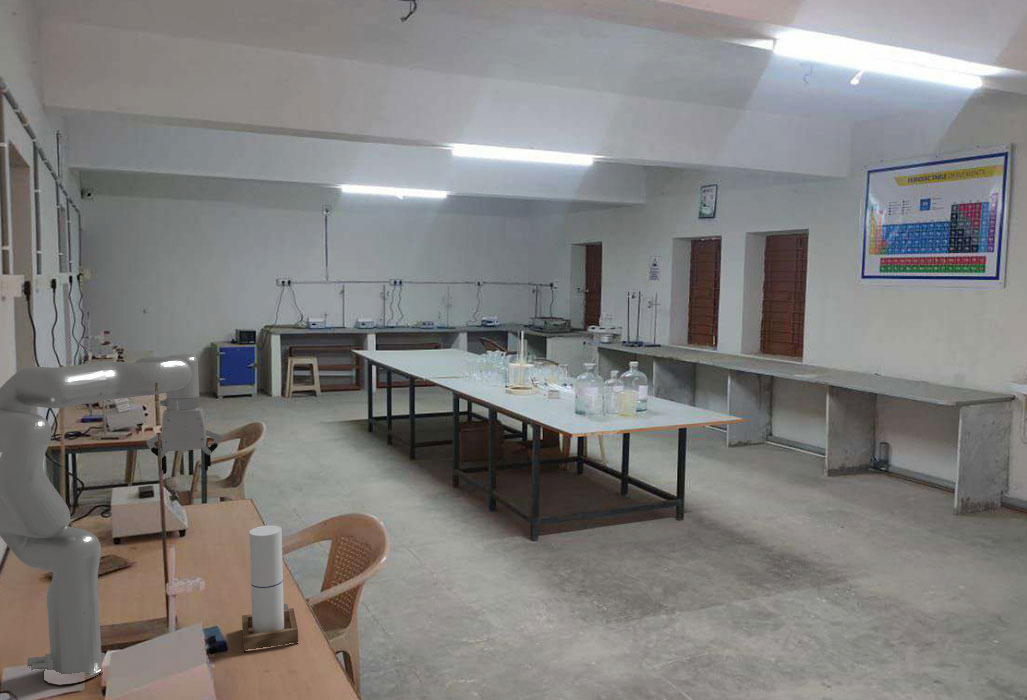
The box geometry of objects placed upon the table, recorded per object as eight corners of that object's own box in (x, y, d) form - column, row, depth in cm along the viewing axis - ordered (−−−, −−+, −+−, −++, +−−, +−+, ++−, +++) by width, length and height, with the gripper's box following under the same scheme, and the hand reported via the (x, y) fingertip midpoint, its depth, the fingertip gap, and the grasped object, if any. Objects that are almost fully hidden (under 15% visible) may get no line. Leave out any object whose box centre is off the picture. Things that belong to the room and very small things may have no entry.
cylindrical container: (251, 641, 177) (248, 536, 174) (253, 627, 184) (250, 526, 181) (283, 637, 179) (281, 534, 176) (284, 623, 185) (281, 524, 183)
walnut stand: (243, 652, 173) (243, 637, 173) (242, 629, 185) (242, 615, 184) (298, 643, 178) (297, 629, 177) (293, 621, 189) (293, 608, 189)
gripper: (143, 408, 183) (146, 478, 185) (220, 404, 189) (222, 471, 191) (146, 403, 190) (149, 470, 192) (220, 399, 196) (222, 464, 198)
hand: (185, 471), depth 191 cm, fingers open, 9 cm apart
